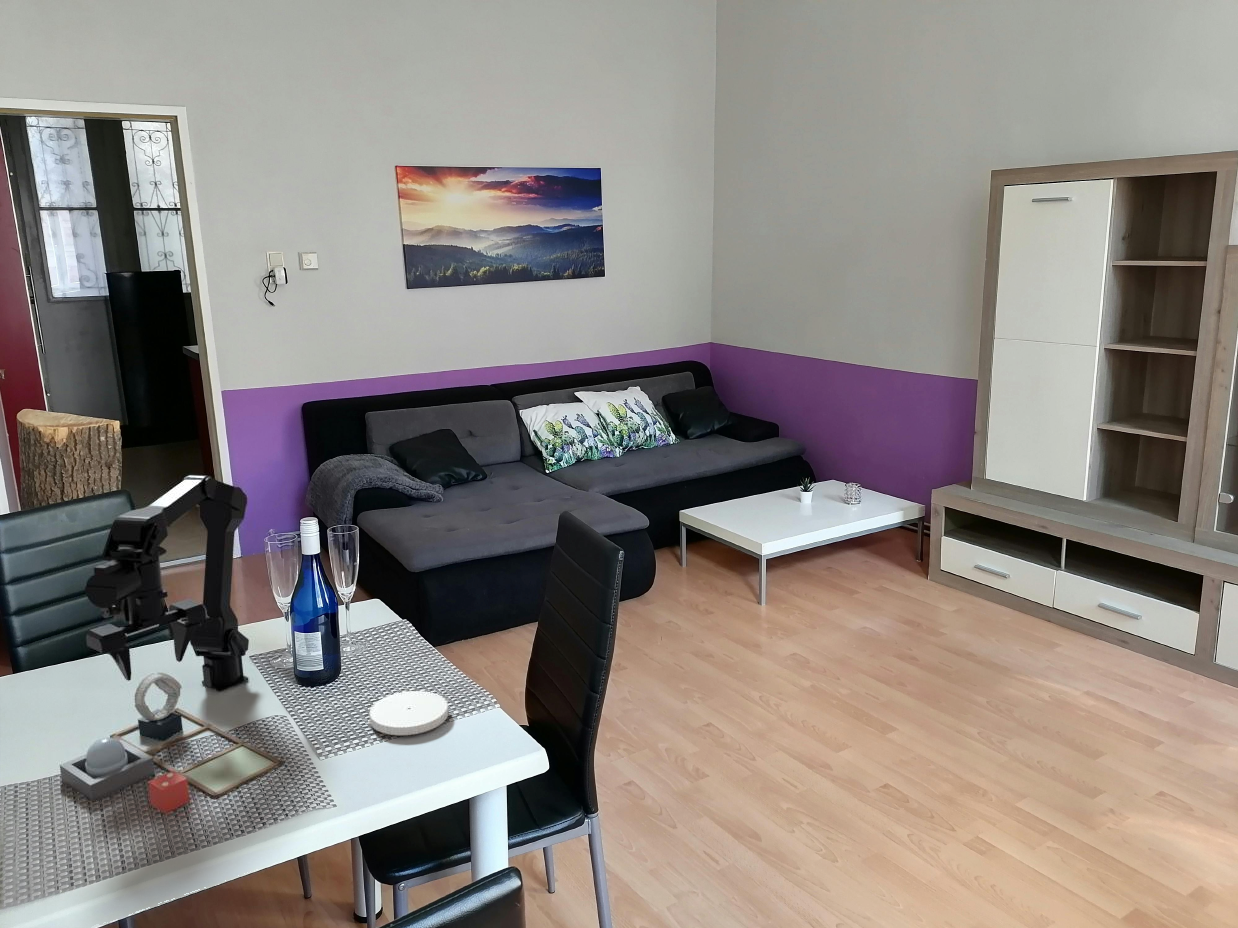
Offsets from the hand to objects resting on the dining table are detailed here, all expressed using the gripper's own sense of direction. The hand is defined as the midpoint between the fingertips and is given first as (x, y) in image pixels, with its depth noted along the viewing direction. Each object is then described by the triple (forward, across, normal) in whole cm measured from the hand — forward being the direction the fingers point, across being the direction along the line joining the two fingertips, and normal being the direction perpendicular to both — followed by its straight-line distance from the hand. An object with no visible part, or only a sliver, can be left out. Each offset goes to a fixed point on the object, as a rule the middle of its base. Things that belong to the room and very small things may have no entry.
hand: (154, 670), depth 167 cm
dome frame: (+12, +13, +7) cm, 19 cm away
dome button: (+11, +13, +7) cm, 18 cm away
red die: (+12, +11, +22) cm, 28 cm away
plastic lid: (+12, -29, +32) cm, 45 cm away
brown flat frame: (+12, 0, +10) cm, 16 cm away
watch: (+12, 0, 0) cm, 12 cm away
